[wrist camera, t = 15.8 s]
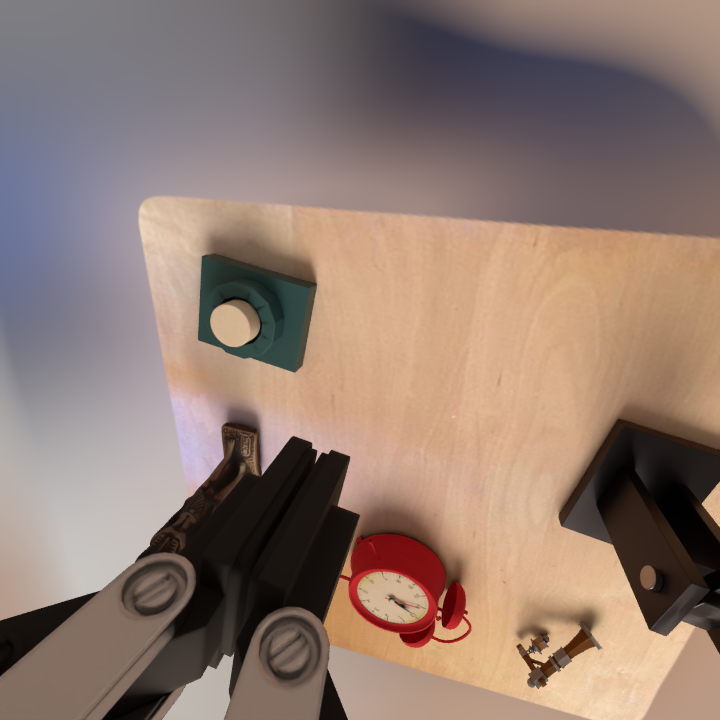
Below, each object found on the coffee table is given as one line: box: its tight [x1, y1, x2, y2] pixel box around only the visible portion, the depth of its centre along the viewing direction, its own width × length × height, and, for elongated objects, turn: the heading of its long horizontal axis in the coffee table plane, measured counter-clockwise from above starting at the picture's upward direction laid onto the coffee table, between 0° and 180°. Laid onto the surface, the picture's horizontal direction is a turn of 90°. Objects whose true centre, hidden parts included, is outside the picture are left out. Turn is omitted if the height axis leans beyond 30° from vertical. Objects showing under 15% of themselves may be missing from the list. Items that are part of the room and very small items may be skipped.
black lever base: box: [559, 419, 720, 654], centre depth 27 cm, size 11×8×12 cm
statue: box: [135, 423, 262, 562], centre depth 33 cm, size 4×7×20 cm, turn 177°
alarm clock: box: [340, 534, 471, 648], centre depth 41 cm, size 10×6×15 cm
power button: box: [210, 300, 260, 347], centre depth 32 cm, size 4×4×2 cm
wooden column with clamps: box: [516, 622, 603, 689], centre depth 39 cm, size 2×8×4 cm, turn 129°
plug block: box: [198, 254, 317, 372], centre depth 34 cm, size 8×10×4 cm
